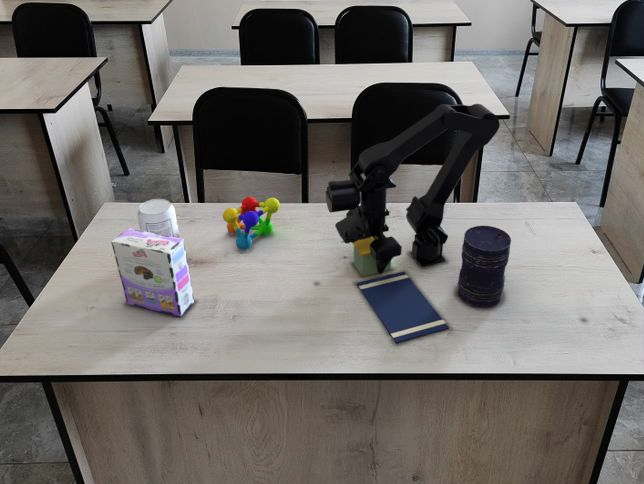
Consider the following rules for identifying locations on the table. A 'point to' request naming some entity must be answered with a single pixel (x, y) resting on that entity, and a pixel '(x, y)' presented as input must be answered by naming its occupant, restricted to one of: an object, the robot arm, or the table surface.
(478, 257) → the storage jar
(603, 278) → the table surface
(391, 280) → the tea towel
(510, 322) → the table surface
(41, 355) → the table surface
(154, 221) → the supplement can
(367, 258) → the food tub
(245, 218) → the molecular model
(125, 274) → the candy box
